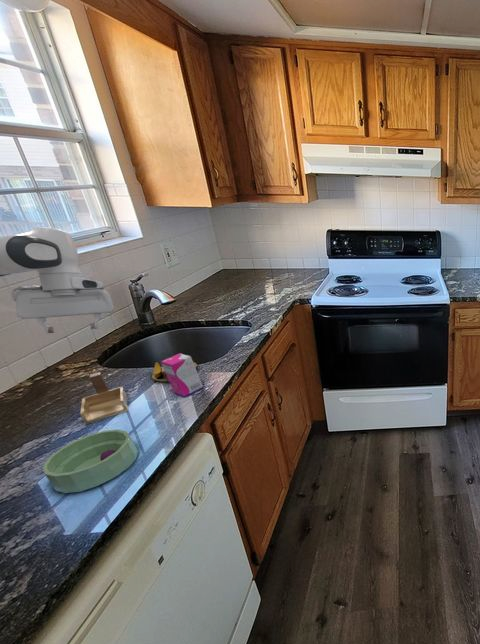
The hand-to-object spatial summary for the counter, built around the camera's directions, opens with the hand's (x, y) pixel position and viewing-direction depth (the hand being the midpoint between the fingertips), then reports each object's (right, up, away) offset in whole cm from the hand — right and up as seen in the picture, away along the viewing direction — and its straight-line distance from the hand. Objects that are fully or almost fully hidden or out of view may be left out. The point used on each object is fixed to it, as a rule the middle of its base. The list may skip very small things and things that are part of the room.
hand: (73, 330), depth 109 cm
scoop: (+14, -22, -4) cm, 27 cm away
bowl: (+33, -32, -26) cm, 53 cm away
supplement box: (+32, -19, +4) cm, 38 cm away
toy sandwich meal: (+21, -14, +14) cm, 29 cm away
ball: (+35, -30, -25) cm, 52 cm away
